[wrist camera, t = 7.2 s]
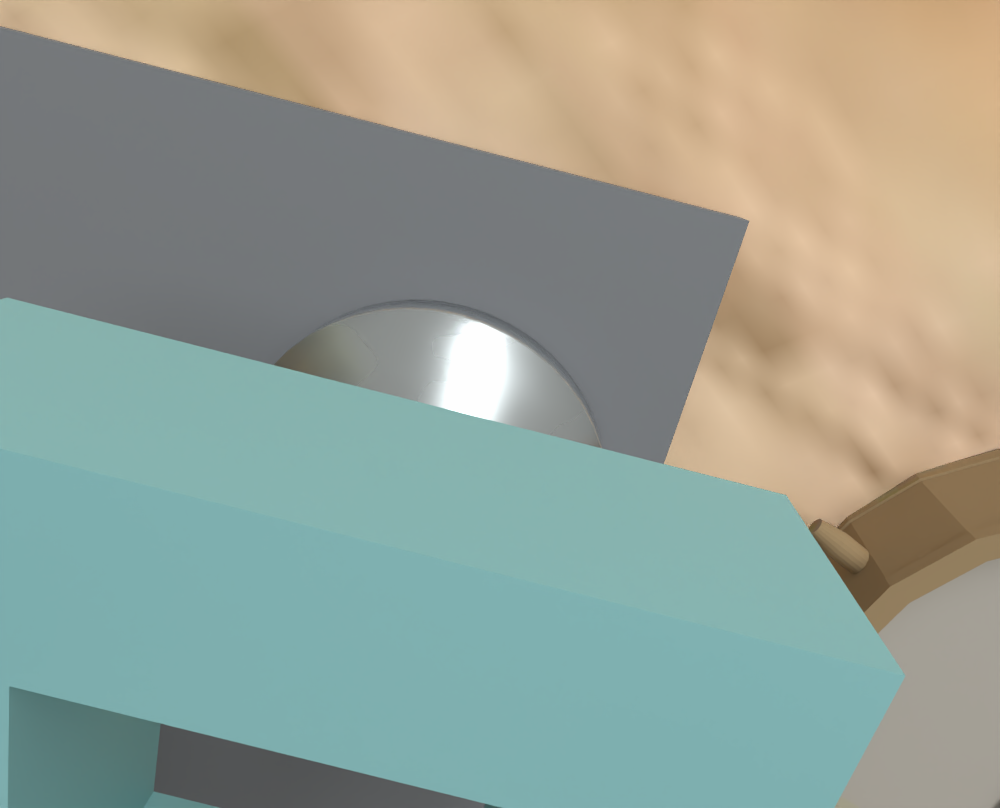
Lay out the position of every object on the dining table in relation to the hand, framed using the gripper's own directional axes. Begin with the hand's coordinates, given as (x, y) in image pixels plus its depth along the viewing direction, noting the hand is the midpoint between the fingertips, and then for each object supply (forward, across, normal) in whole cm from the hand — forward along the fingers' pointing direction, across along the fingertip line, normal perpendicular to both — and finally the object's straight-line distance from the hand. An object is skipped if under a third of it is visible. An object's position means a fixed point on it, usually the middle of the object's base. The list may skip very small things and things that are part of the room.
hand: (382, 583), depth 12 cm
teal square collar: (-3, 0, 0) cm, 3 cm away
